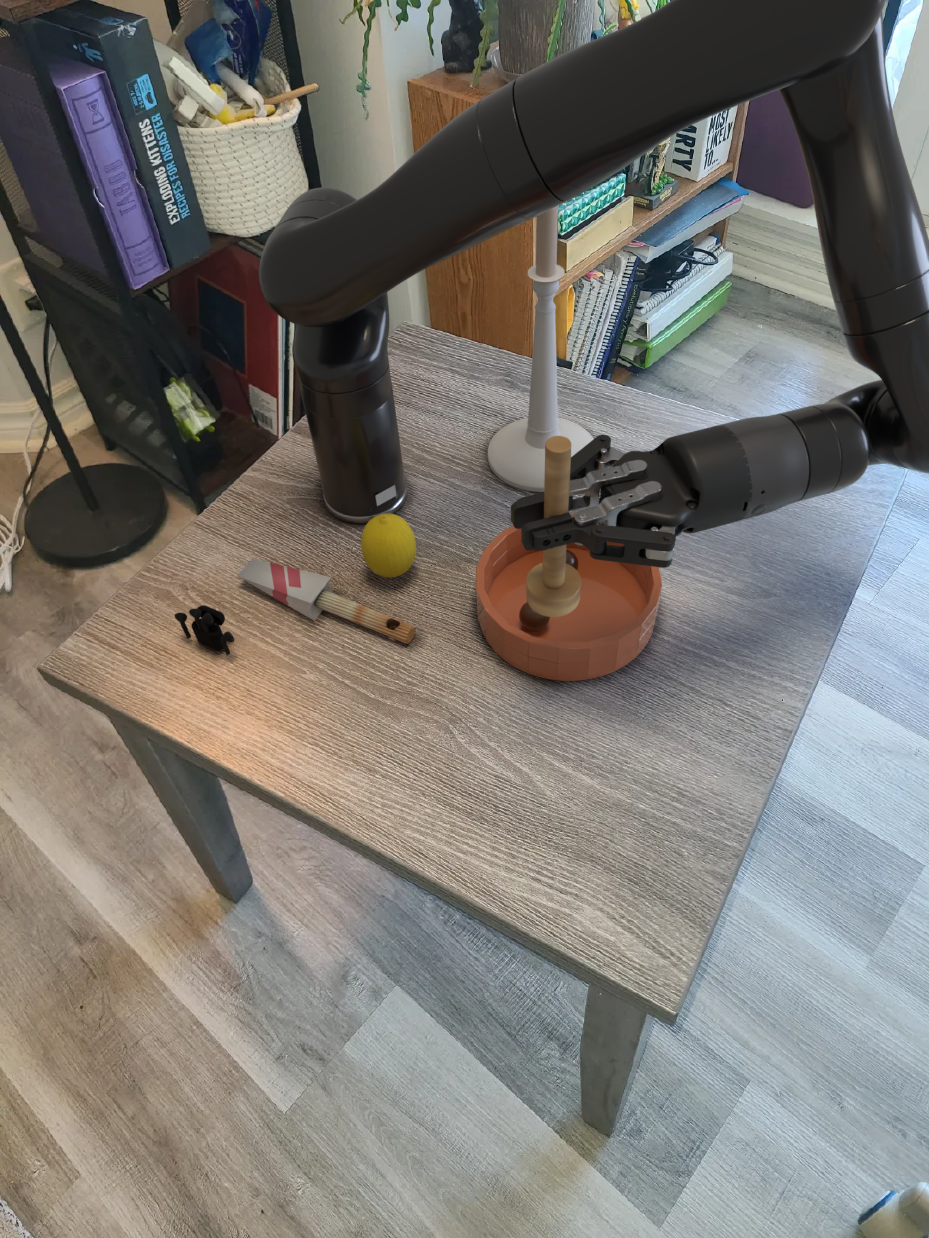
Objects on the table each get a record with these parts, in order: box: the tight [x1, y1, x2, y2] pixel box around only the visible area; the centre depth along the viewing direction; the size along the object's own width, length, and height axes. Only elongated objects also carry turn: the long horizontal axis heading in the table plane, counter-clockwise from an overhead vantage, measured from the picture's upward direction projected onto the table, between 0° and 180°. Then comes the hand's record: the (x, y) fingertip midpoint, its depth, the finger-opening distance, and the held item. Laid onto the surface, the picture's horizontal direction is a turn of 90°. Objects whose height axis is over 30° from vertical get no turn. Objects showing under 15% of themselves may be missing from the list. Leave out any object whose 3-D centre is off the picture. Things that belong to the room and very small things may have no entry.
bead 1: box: [519, 602, 550, 631], centre depth 87 cm, size 3×3×3 cm
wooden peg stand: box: [526, 436, 581, 617], centre depth 68 cm, size 4×4×16 cm
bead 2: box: [566, 550, 578, 570], centre depth 91 cm, size 3×3×3 cm
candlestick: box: [487, 206, 595, 493], centre depth 93 cm, size 13×13×30 cm
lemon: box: [360, 513, 417, 578], centre depth 91 cm, size 6×6×8 cm
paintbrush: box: [236, 557, 416, 645], centre depth 90 cm, size 4×3×20 cm
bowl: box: [475, 514, 663, 682], centre depth 88 cm, size 18×18×5 cm
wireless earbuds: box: [174, 605, 235, 656], centre depth 87 cm, size 7×2×5 cm, turn 63°
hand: (518, 527), depth 66 cm, fingers closed on wooden peg stand, 2 cm apart
